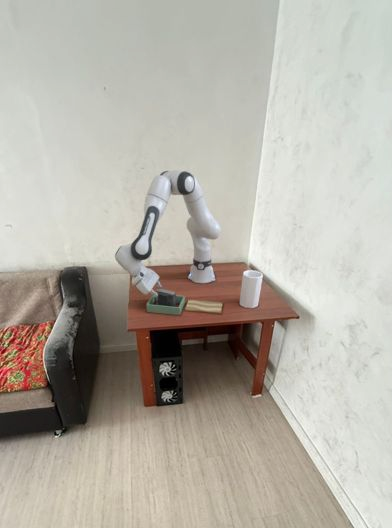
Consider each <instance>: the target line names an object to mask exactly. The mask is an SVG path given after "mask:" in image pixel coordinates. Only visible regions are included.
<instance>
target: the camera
mask: <svg viewBox="0 0 392 528" xmlns="http://www.w3.org/2000/svg"><path fill="white" fill-rule="evenodd" d="M155 292H157V293H158V296H157V297H156V301H155V305H160V306H171V307H177V303H176V295H177V293H176V292H175V291H173V290H169V289H166V288H165V289H164V288H162V289H159V288H158V289H156V290H155Z"/></svg>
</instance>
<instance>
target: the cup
mask: <svg viewBox="0 0 392 528" xmlns="http://www.w3.org/2000/svg"><path fill="white" fill-rule="evenodd" d="M263 277H264V275H263V272H261V271H259V270H253V269H247V270H244V271H243V272H242V279H241V287H240V295H239V306H241V307H242V308H244V309H255V308H257V307H258V306H259V301H260V295H261V289H262V283H263Z"/></svg>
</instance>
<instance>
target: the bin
mask: <svg viewBox="0 0 392 528" xmlns="http://www.w3.org/2000/svg"><path fill="white" fill-rule="evenodd" d="M185 300H186V297H185V295H177V294H176V304H179V306H176V307H171V306H160V305H156V304H154V303H155V302H156V297H155V296H154V295H152V294H151V297H150V298H149V299H148V301H147V303H146V305H145V306H146V312H147V313H153V314H164V315H173V316H181V314H182V311H183V308H184V306H185V303H186V301H185Z"/></svg>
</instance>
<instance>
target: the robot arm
mask: <svg viewBox="0 0 392 528" xmlns="http://www.w3.org/2000/svg"><path fill="white" fill-rule="evenodd" d="M171 195H173V196H182V197H183V201H184V204H185V206H186V210H187V213H188V214H189V216H190V217H189V218H188V219H187V220H186V229H187V230H188V232H189V234H190V237H191V241H192V244H193V258H192V265H191V266H190V274H189V275H188V276H187V279H188V280H190V281H191V282H193V283H196V284H207V283H211V282H215V281H216V276H215V272H214V268H213V266H212V246H211V245H212V244H211V243H210V242H209V240H214V241H215V240H217V239H218V238H219V237H220V235H221V234H222V226H221V224H220V223H219V222H218V221H217V220H216V219H215V217H214V216H213V215H212V213H211V211H210V209H209V207H208V206H207V203H206V198H205V197H204V196H205V195H204V192H203V189H202V187H201V185H200V182H199V180H198V179H197V177H196V176H195V175H193V174H192V173H190V172H189V171H185V170H184V171H182V170H165V171H163V172H161V173H160V174H159V175H155V176H154V177H153V179H152V181H151V183H150V185H149V187H148V190H147V193H146V195H145V199H144V204H143V212H144V213H143V215H144V216H143V222H142V224H141V228H140V230H139V234H138V235H137V236H136V238H135V239H134V240H133V241H132V242H130V243H129V244H125V245H121V246H119V248H118V249H117V250H116V252H115V254H114V260H115V261H116V262H117V263H118V265H119V266H120V267H121V268H122V269H123V270H125V271H126V272H127V273H128V274H129V276H130V277H131V284H132V285H133V286H135V287H136V288H137V289H138V290H139V291H140V292H141V293H142V294H143V295H145V296H148V295H149V294H150V295H151V296H152V295H154V296H155V297H157V296H158V293H157V292H156V291H154V287H155V286H157V288H158V289H164V287H163V286H162V285H161V283H160V281H159V279H160V275H159V274H157V272H155V271H154V270H153V269H151V268H149V267H146V266H145V264H144V263H143V262H142V261H146V260H148V259H149V258H150V257H151V255H152V253H153V247H152V239H153V236H154V234H155V230H156V226H157V224H158V222H159V221H160V219H162V217H163V216H164V214H165V212H166V209H167V207H168V204H169V200H170V197H171Z"/></svg>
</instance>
